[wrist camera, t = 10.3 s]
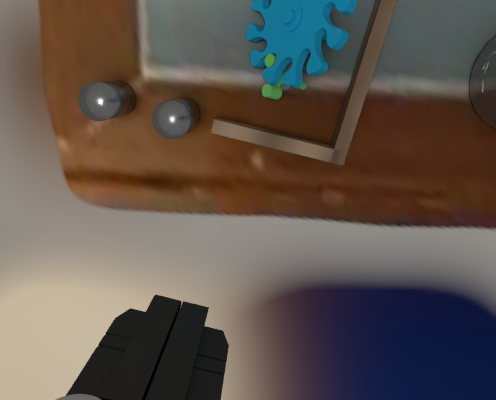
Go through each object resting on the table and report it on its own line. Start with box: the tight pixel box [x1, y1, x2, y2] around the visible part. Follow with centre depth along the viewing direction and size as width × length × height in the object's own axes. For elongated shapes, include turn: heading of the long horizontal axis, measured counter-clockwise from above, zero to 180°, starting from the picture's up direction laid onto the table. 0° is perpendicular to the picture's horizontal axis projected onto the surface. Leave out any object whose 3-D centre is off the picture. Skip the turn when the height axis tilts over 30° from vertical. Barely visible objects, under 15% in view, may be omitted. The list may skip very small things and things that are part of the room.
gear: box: [246, 0, 357, 99], centre depth 31 cm, size 11×6×10 cm
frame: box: [211, 0, 397, 166], centre depth 32 cm, size 12×19×2 cm, turn 167°
